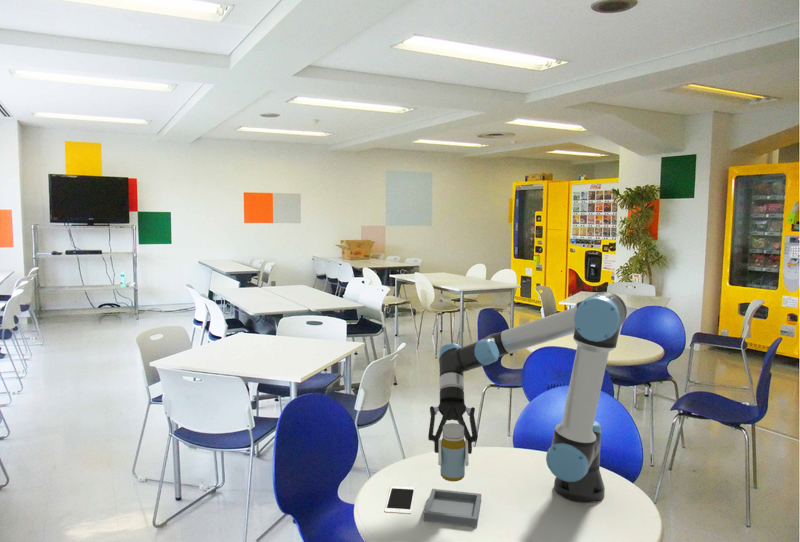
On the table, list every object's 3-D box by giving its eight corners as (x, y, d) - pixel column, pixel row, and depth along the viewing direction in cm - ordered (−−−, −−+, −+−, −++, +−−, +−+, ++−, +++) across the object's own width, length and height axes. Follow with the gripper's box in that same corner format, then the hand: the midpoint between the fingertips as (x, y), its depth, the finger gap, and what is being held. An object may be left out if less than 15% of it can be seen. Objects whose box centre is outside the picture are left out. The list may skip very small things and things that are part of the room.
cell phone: (384, 513, 169) (384, 511, 169) (391, 487, 185) (391, 486, 185) (410, 515, 169) (410, 513, 169) (415, 489, 185) (415, 487, 184)
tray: (481, 501, 176) (481, 493, 176) (476, 527, 161) (477, 519, 161) (432, 496, 179) (432, 488, 179) (423, 520, 165) (423, 512, 164)
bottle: (465, 482, 166) (466, 431, 165) (441, 482, 166) (442, 431, 165) (463, 471, 173) (464, 422, 172) (439, 471, 173) (440, 422, 172)
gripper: (483, 397, 183) (487, 469, 168) (419, 395, 183) (418, 467, 169) (485, 385, 177) (489, 459, 162) (419, 384, 178) (418, 457, 163)
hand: (453, 463), depth 166 cm, fingers closed on bottle, 7 cm apart
